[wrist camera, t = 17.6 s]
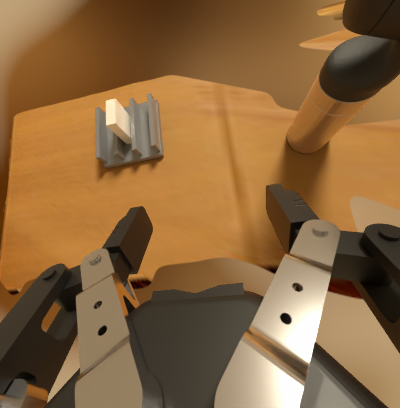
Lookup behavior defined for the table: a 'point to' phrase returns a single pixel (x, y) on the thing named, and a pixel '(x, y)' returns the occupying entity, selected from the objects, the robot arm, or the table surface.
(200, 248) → the table surface
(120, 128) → the tall cream block
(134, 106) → the dish rack
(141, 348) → the robot arm
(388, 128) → the table surface
